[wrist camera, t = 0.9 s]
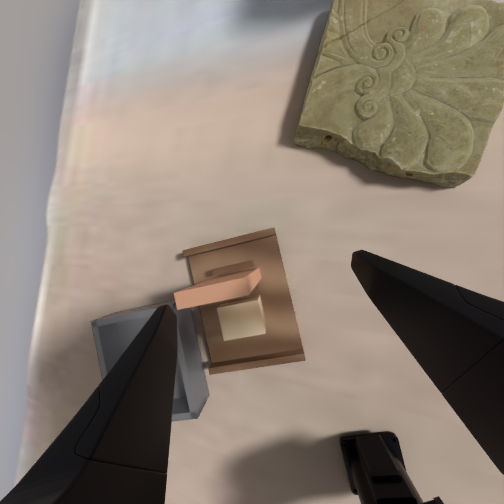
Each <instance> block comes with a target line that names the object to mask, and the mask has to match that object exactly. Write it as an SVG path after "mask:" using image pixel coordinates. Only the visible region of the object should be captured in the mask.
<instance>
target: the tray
mask: <svg viewBox="0 0 504 504" xmlns="http://www.w3.org/2000/svg"><path fill="white" fill-rule="evenodd" d="M165 304H168V305H169V306H170V307H171V308H172V310H173V311H174V312H175V314H176V316H177V338H178V352H177V364H176V376H175V387H174V399H173V410H172V421H180V420H189V419H197V418H198V417H199V415H200V413H201V411H202V409H203V407H204V405H205V403H206V401H207V399H208V397H209V391H208V386H207V381H206V377H205V372H204V368H203V363H202V359H201V354H200V349H199V345H198V340H197V336H196V331H195V327H194V322H193V317H192V313H191V308H190V307H189V308H184V309H179V310H177V306H176V302H175V300H172V301H167V302H162V303H158V304H153V305H148V306H144V307H139V308H134V309H129V310H125V311H120V312H115V313H113V314H110V315H107V316H105V317H102V318H99V319H96V320H94V321H91V325H92V330H93V335H94V340H95V345H96V350H97V354H98V359H99V364H100V369H101V374H102V379H104V378H105V376H106V375H107V374H108V372H109V371H110V370H111V368H112V367H113V366H114V364H115V363H116V362H117V360H118V359H119V358H120V356H121V355H122V354H123V352H124V351H125V350H126V349H127V347H128V346H129V345H130V343H131V342H132V341H133V339H134V338H135V337H136V335H137V334H138V333H139V331H140V330H141V329H142V327H143V326H144V325H145V323H146V322H147V321H148V320H149V318H150V317H151V316H152V314H153V313H154V312H155V310H156V309H157V308H158V307H159V306H161V305H165Z"/></svg>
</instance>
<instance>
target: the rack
mask: <svg viewBox="0 0 504 504" xmlns="http://www.w3.org/2000/svg"><path fill="white" fill-rule="evenodd" d="M183 255H184V257H186V256H188V258H189V262H190V267H191V271H192V276H193V280H194V285H196V284H198V283H201V282H204V281H206V280H209V279H212V278H214V277H218V276H223V275H227V274H232V273H236V272H240V271H245V270H249V269H254V268H258V267H259V269H260V273H261V280H260V281H259V282H258V284H257V285H256V286H255V288H254V289H253V290H252V292H251V293H250V294H249V295H248V296H243V297H238V298H233V299H228V300H223V301H219V302H214V303H209V304H204V305H199V308H200V312H201V317H202V321H203V326H204V330H205V335H206V339H207V344H208V349H209V353H210V358H211V362H212V363H211V365H210V366H209V368H208V369H209V374H210V375H211V374H217V373H224V372H231V371H238V370H244V369H251V368H258V367H265V366H271V365H278V364H285V363H291V362H298V361H305V356H304V351H303V347H302V343H301V338H300V334H299V330H298V326H297V322H296V317H295V313H294V309H293V305H292V300H291V296H290V292H289V288H288V284H287V279H286V275H285V271H284V267H283V262H282V258H281V254H280V250H279V245H278V241H277V237H276V233H275V229H274V228H270V229H266V230H262V231H258V232H254V233H250V234H246V235H242V236H238V237H234V238H230V239H226V240H222V241H218V242H214V243H210V244H206V245H202V246H198V247H195V248H191V249H187V250H183ZM256 295H260V298H261V302H262V306H263V310H264V315H265V319H266V333H265V334H262V335H257V336H252V337H246V338H240V339H234V340H228V341H224V340H223V335H222V331H221V326H220V322H219V317H218V313H217V307H219V306H220V305H221V304H224V303H225V302H226V301H231V300H236V299H241V298H246V297H251V296H256Z"/></svg>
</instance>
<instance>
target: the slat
mask: <svg viewBox="0 0 504 504" xmlns="http://www.w3.org/2000/svg"><path fill="white" fill-rule="evenodd" d="M260 280H261V273H260V269H259V267H258V268H254V269H249V270H245V271H240V272H236V273H232V274H227V275H223V276H218V277H214V278H212V279H209V280H206V281H204V282H201V283H198V284H196V285H193V286H191V287H188V288H185V289H183V290H180V291H177V292H175V293H174V297H175V302H176V306H177V310H179V309H184V308H189V307H194V306H199V305H204V304H209V303H214V302H219V301H223V300H228V299H233V298H238V297H243V296H248V295H249V294H250V293H251V292H252V290H253V289H254V288H255V286H256V285H257V284H258V282H259V281H260Z"/></svg>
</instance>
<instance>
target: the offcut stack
mask: <svg viewBox="0 0 504 504" xmlns="http://www.w3.org/2000/svg"><path fill="white" fill-rule="evenodd" d="M217 313H218V317H219V322H220V326H221V331H222V335H223V340H224V341H228V340H234V339H240V338H246V337H252V336H257V335H262V334H265V333H266V319H265V315H264V310H263V306H262V302H261V298H260V295H256V296H251V297H246V298H241V299H236V300H231V301H226V302H225V303H224V304H221V305H220V306H219V307H217Z"/></svg>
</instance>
